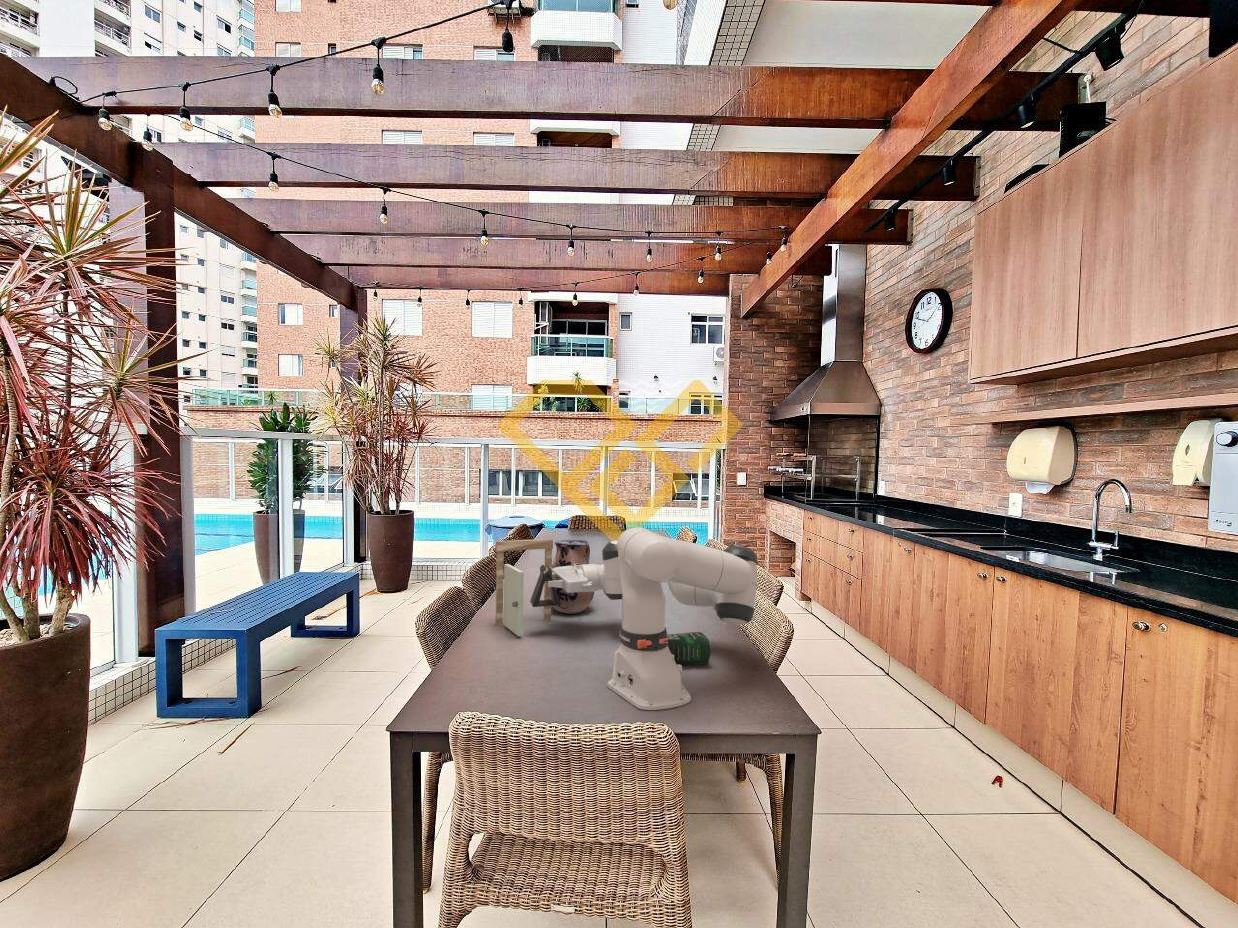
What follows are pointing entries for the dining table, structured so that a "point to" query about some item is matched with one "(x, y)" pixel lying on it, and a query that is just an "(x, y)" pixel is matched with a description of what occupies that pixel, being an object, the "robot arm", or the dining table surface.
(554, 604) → the phone stand
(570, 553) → the ceramic pitcher
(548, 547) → the door frame
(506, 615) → the door
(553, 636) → the dining table surface
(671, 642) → the coffee jar
